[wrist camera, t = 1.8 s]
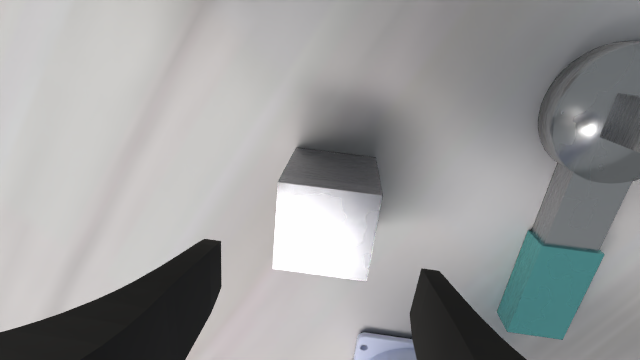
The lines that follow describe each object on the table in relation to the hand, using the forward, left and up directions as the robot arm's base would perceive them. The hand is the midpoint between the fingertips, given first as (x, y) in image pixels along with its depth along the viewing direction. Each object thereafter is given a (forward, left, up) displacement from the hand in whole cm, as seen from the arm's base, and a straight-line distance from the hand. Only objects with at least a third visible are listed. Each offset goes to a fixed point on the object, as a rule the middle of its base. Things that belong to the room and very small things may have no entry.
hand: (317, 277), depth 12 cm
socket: (0, 0, -8) cm, 8 cm away
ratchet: (+1, -13, -8) cm, 15 cm away
